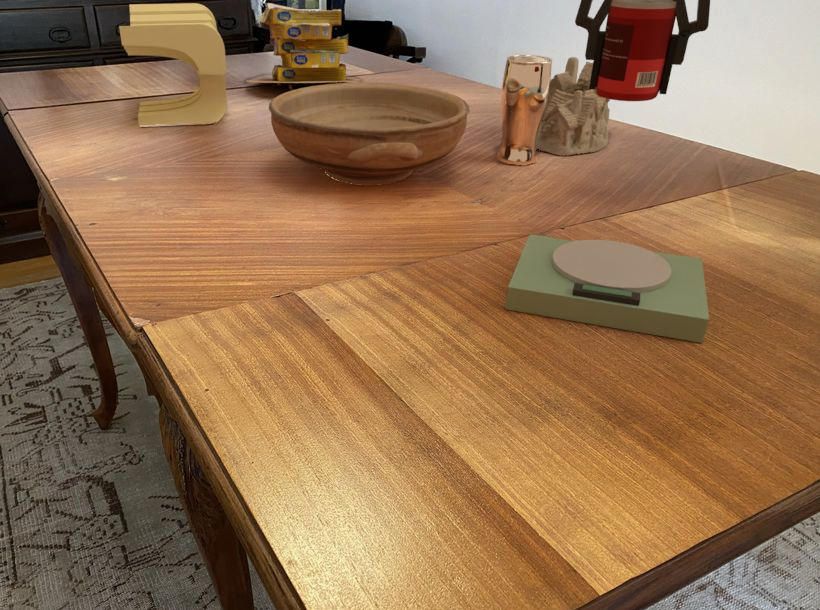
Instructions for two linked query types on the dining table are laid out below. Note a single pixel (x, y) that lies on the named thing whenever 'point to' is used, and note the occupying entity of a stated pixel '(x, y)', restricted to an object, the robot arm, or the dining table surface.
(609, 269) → the kitchen scale
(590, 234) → the dining table surface
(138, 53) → the yellow c-shaped bracket
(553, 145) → the ceramic cottage
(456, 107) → the ceramic bowl
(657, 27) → the canned food
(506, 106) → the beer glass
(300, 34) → the stacked yellow boxes
